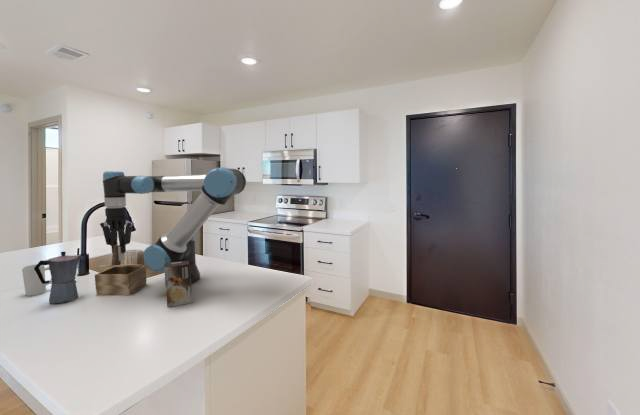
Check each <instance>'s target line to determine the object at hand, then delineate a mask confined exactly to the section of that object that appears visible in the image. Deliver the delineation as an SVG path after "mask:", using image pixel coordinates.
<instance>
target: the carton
mask: <svg viewBox="0 0 640 415" xmlns="http://www.w3.org/2000/svg"><path fill="white" fill-rule="evenodd" d="M94 281H95V282H94V283H95V284H94V285H95V291H96V292H95V293H96V296H130V295H132V294H133V293H135V292H137V291H138V290H140V289H142V288H144V285H145V286H146V285H147V282H148V281H147V266H146V265H141V266H129V267H109V268H107V269H105V270H102V271H100V272H98V273H95V274H94ZM141 287H142V288H141ZM139 288H140V289H139Z"/></svg>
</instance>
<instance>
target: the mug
mask: <svg viewBox="0 0 640 415" xmlns="http://www.w3.org/2000/svg"><path fill="white" fill-rule="evenodd" d="M37 264H38V263H36V264H30V265H26V266H22V267H21V270H22V271H21V272H22V273H21V274H22V278H23V287H24V291H25V296H28V297H34V296H37V295H38V296H39V295H41V294H42V295H43V294H44V293H46V292H47V288H46V287H47V286H48V285H52V278H50V279H49V280H48V281H50V282H49V283H46V284H42V282H41V281H40V279H39V277H38V275H37V273H36V271H35V270H34V267H35V266H36V265H37ZM39 269H40V272H41V274H42V276H43V278H44V280H45V281H46V274H45V272H46V271H50V268H49V265H47V267H46V266H45V265H41V266H40V267H39Z"/></svg>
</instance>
